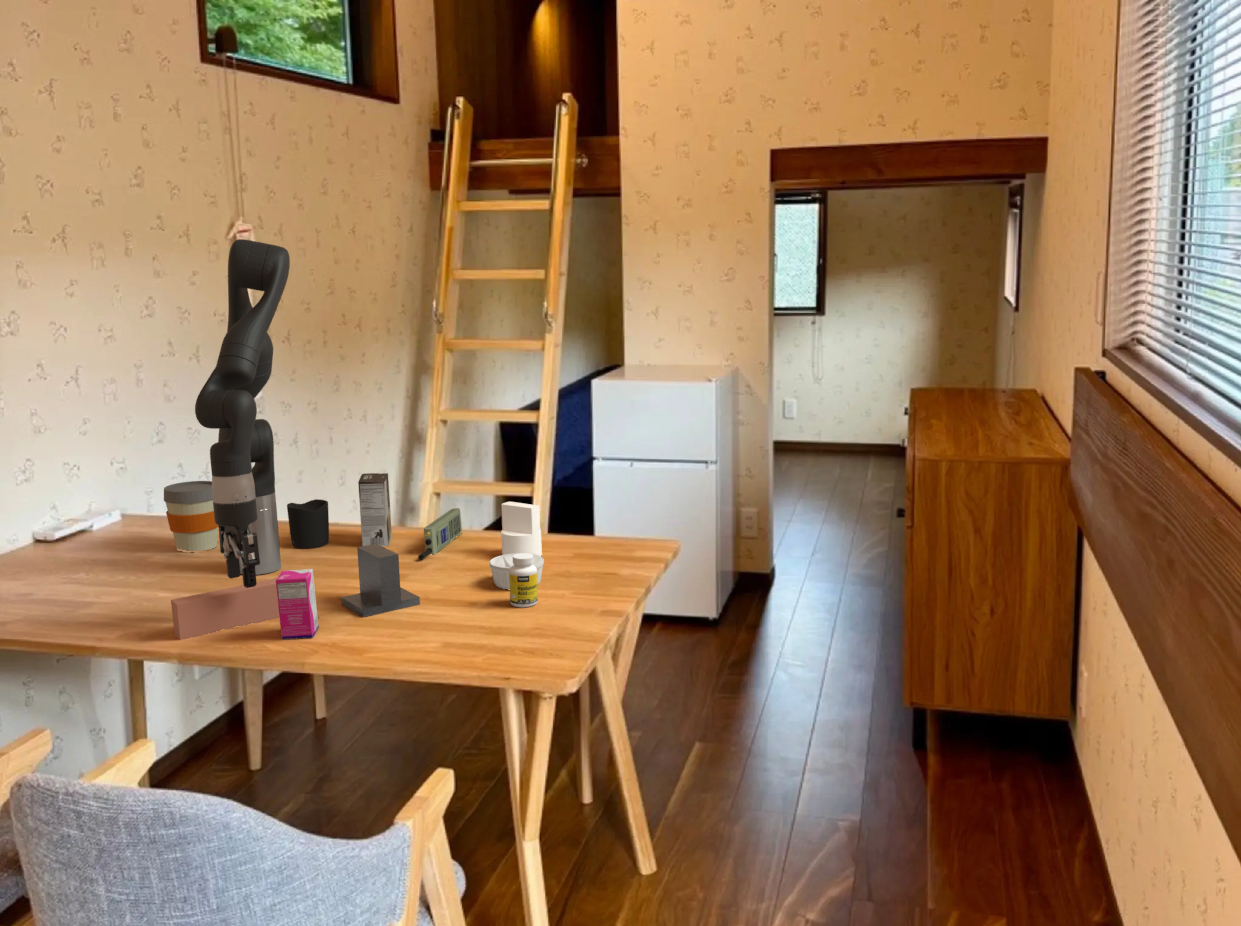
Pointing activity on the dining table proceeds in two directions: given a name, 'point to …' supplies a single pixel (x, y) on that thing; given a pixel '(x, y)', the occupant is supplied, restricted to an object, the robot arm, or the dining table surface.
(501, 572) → the ramekin
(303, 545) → the pen holder
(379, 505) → the coffee box
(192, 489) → the reusable coffee cup
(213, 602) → the batten
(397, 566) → the stand
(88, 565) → the dining table surface
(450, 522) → the handheld radio
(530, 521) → the cylinder with rectangular tab
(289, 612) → the supplement box
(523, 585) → the supplement bottle
